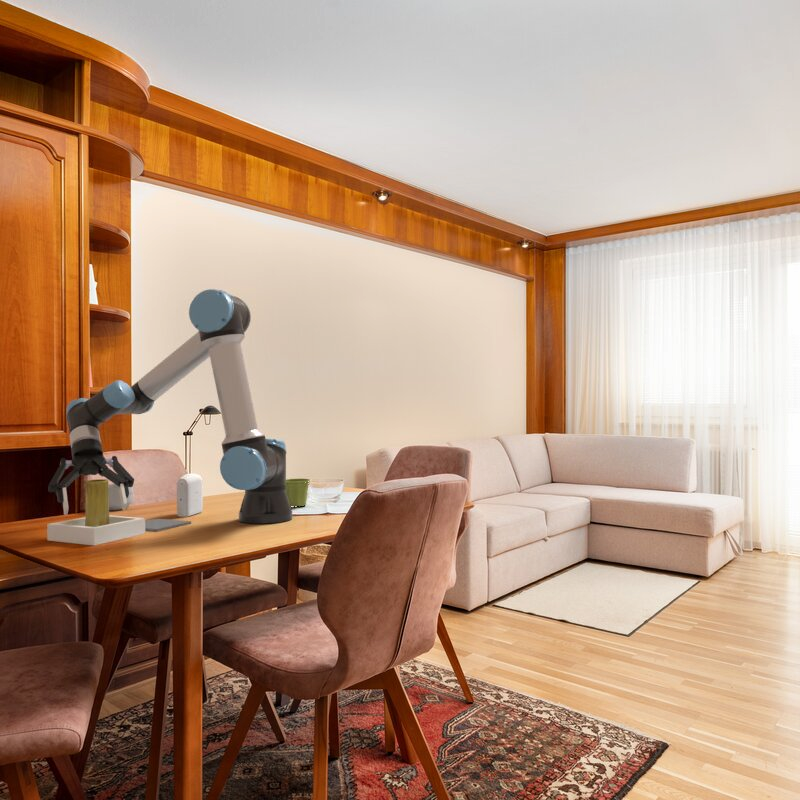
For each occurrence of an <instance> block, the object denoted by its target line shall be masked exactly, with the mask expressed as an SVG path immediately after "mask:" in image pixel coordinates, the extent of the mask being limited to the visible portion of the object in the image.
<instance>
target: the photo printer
mask: <svg viewBox="0 0 800 800" xmlns="http://www.w3.org/2000/svg"><path fill="white" fill-rule="evenodd" d="M203 491H204V489H203V478H202V476H201V475H199V474H197V473H186V474H183V475H182V476H181V477H180V478H179V479H178V480H177V483H176V509H177V510H176V516H177V517H179V518H188V517H189V516H194V515H196V514H200V513H202V512H203V511H204V510H203V509H204V507H203V506H204V502H203V501H204V499H203V498H204V497H203V495H204V494H203Z"/></svg>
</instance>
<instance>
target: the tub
mask: <svg viewBox="0 0 800 800" xmlns="http://www.w3.org/2000/svg"><path fill="white" fill-rule="evenodd" d="M145 521H146V518H145V517H135V516H121V515H111V514H109V523H110V524H108V525H103V526H98V527H88V526H85V516H83V517H79V518H73V519H68V520H61V521H57V522H51V523H47V524H46V525H47V529H46V530H47V531H46V532H47V533H46V535H47V538H46V540H47V541H50V542H51V541H52V542H59V543H67V544H77V545H78V544H79V545H87V546H98V545H102V544H106V543H111V542H116V541H120V540H125V539H128V538H133V537H138V536H141V535H145V534H146V530H145Z"/></svg>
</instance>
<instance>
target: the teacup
mask: <svg viewBox="0 0 800 800" xmlns="http://www.w3.org/2000/svg"><path fill="white" fill-rule="evenodd" d="M108 488H109V511H118V510H122V504H121V499H120V494H119V488H120V487H119V486H117V485H116V484H114V483H108ZM128 489H129V496H128V498H126V500H127V506H126V509H127V508H129V507H130V505H131V504H132V503H133V502H134V486H133V487H128Z"/></svg>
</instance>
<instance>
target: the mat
mask: <svg viewBox="0 0 800 800" xmlns="http://www.w3.org/2000/svg"><path fill="white" fill-rule="evenodd" d="M190 524H192V521H191V520H189V521H188V520H178V519H176V520H175V519H166V518H152V519H145V532H146V531H148V532H160V531H164V530H169V529H174V528H178V527H182V526H187V525H190Z"/></svg>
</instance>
